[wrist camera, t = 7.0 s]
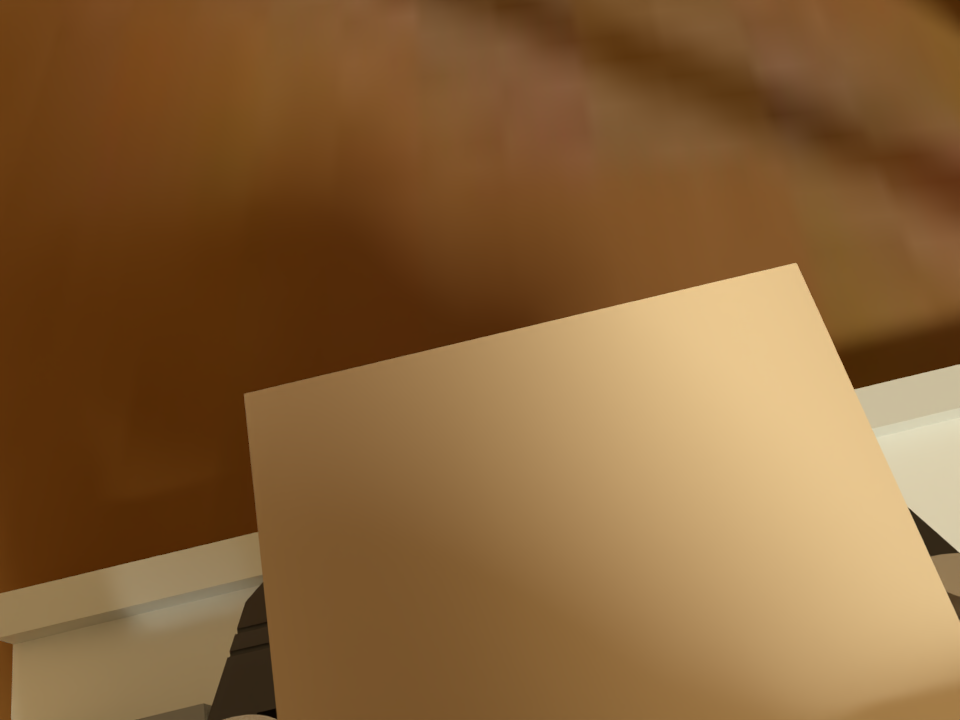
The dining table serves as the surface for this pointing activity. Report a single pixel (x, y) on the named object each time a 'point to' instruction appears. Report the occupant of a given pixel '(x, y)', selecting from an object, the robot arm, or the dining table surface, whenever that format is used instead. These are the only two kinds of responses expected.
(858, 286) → the dining table surface
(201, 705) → the hook
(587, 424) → the tall tan block
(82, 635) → the tie down bed
